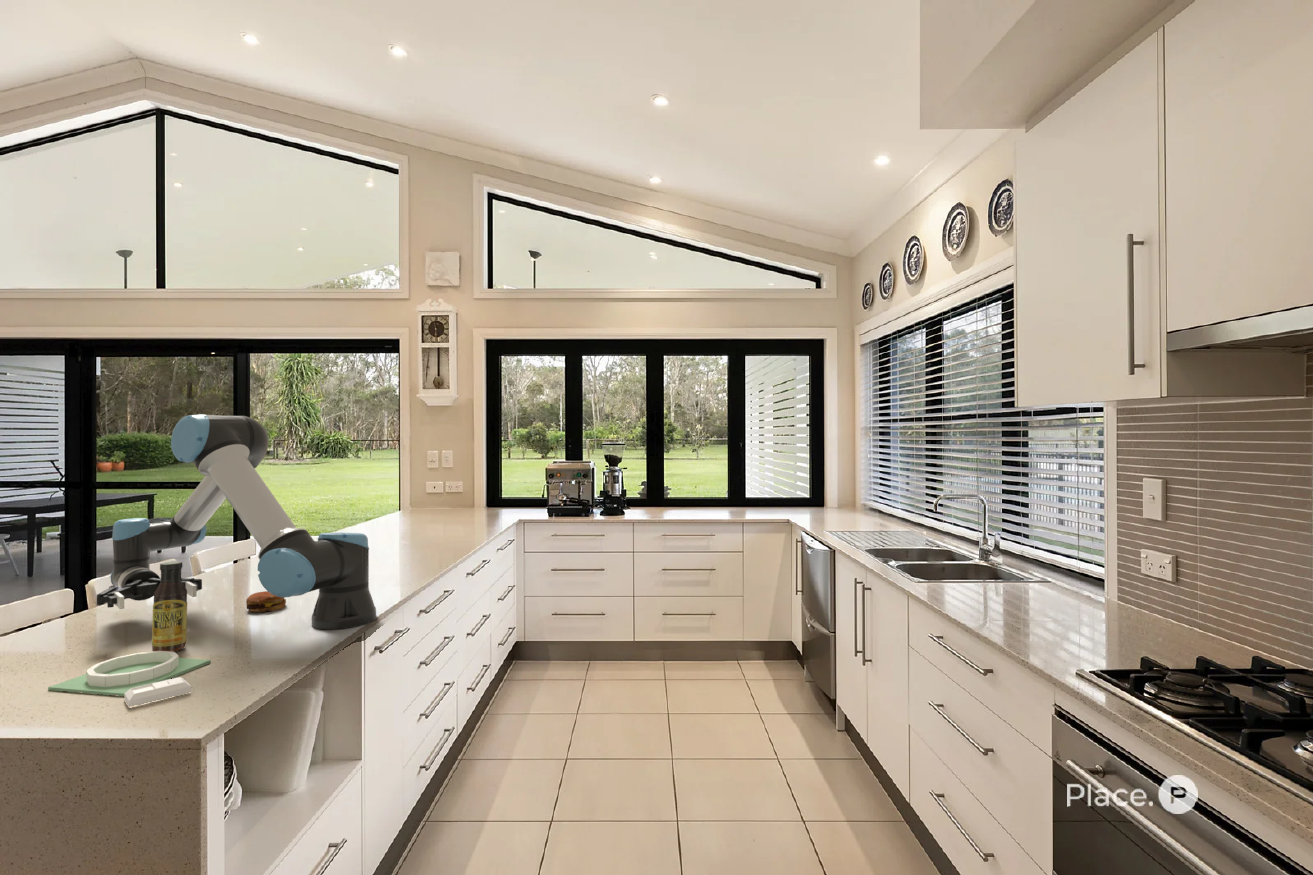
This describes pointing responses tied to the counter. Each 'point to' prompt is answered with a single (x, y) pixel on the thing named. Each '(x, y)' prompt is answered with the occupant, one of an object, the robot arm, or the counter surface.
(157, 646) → the sauce bottle
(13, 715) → the counter surface
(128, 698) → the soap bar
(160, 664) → the putting mat
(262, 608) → the burger
